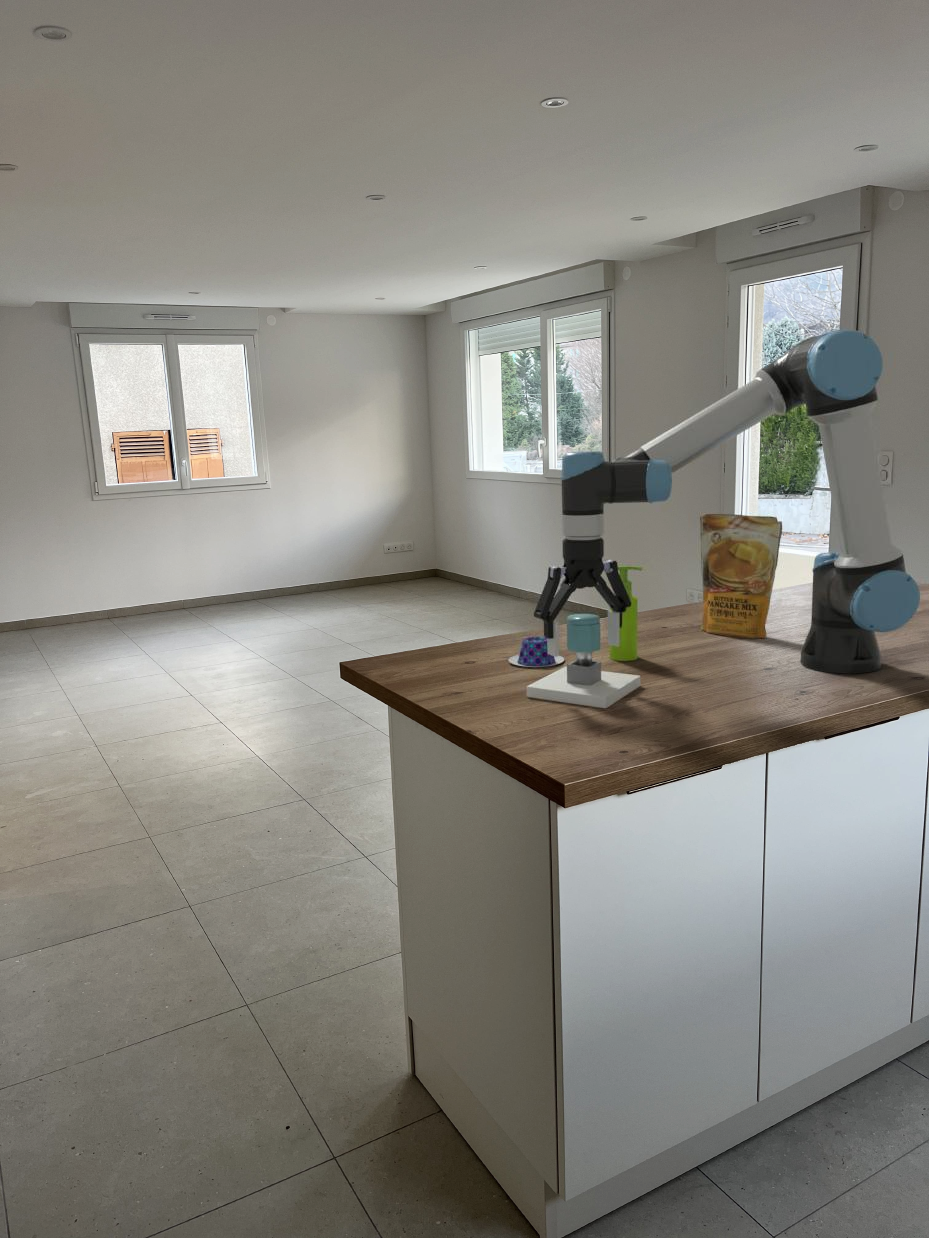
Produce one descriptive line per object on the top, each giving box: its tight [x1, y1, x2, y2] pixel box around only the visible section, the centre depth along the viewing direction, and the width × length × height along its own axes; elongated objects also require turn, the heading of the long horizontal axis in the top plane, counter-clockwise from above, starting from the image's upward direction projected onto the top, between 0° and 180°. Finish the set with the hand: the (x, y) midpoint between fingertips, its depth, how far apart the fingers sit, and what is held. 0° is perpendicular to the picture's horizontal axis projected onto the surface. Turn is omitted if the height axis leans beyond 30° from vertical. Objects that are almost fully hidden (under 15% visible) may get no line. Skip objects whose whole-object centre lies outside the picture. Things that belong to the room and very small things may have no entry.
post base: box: [526, 659, 641, 709], centre depth 170 cm, size 16×16×6 cm
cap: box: [566, 613, 601, 653], centre depth 168 cm, size 6×6×6 cm
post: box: [575, 652, 593, 667], centre depth 169 cm, size 3×3×10 cm
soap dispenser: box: [608, 564, 643, 662], centre depth 192 cm, size 6×7×20 cm
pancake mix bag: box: [699, 513, 783, 640], centre depth 210 cm, size 7×19×28 cm, turn 48°
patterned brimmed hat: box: [508, 636, 565, 668], centre depth 193 cm, size 12×12×5 cm
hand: (583, 650), depth 169 cm, fingers open, 13 cm apart
